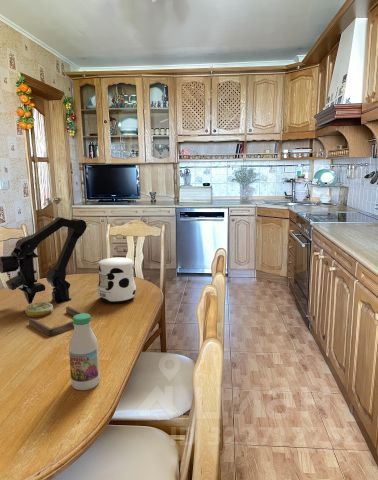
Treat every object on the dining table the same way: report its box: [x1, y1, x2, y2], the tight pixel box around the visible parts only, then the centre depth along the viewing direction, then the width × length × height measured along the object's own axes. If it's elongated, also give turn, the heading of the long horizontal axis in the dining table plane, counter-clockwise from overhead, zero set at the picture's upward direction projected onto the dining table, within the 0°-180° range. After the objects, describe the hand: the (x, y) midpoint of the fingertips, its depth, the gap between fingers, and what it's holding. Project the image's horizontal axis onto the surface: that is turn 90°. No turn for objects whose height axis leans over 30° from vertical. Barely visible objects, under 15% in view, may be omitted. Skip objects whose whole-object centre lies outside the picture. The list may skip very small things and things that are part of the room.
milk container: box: [97, 257, 137, 304], centre depth 167 cm, size 17×17×18 cm
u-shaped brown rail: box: [28, 305, 83, 338], centre depth 142 cm, size 17×16×2 cm
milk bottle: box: [68, 312, 101, 391], centre depth 100 cm, size 8×8×20 cm
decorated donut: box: [25, 301, 54, 318], centre depth 152 cm, size 10×11×4 cm
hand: (29, 303), depth 157 cm, fingers closed
